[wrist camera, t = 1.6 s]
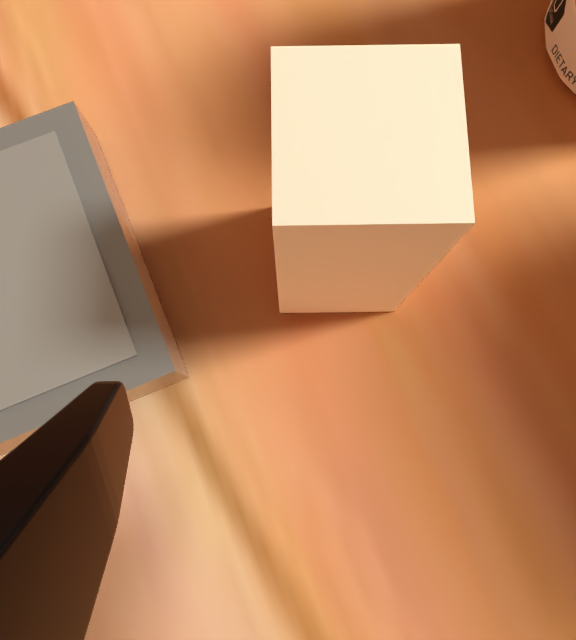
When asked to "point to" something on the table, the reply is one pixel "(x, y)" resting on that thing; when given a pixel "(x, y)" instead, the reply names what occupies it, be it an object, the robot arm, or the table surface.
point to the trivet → (70, 278)
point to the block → (365, 172)
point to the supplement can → (562, 39)
